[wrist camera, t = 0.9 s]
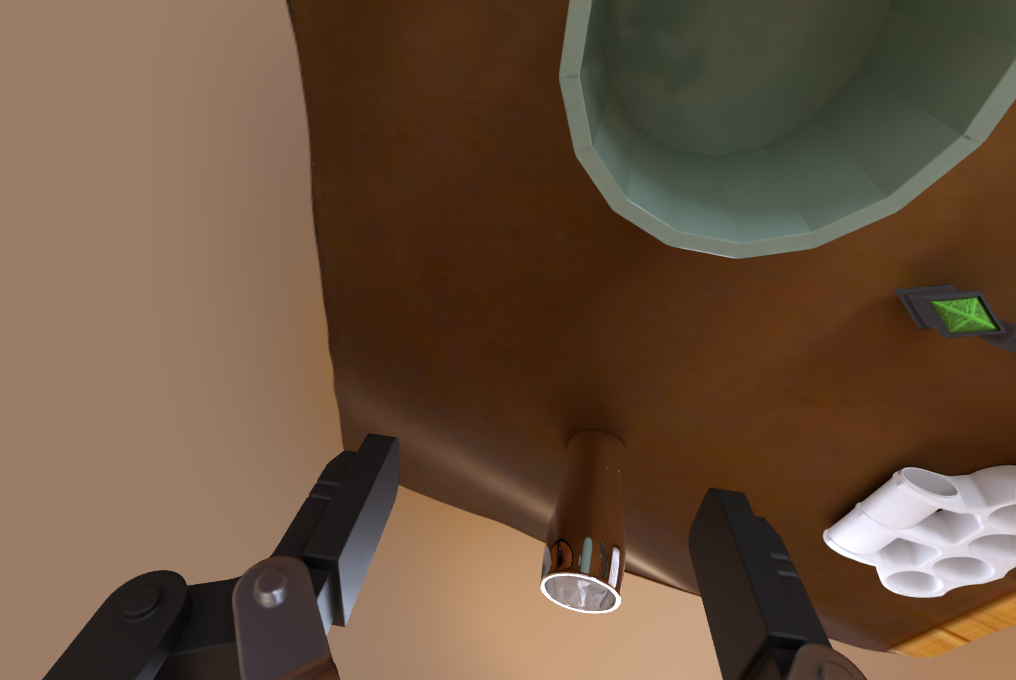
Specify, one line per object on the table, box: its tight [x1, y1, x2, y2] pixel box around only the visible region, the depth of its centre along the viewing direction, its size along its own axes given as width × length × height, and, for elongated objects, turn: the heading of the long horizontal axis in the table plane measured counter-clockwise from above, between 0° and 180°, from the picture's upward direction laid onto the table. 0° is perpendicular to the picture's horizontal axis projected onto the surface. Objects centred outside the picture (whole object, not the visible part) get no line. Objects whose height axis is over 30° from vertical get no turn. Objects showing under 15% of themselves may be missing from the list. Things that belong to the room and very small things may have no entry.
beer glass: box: [540, 430, 626, 613], centre depth 44 cm, size 7×7×15 cm
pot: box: [559, 0, 1016, 259], centre depth 21 cm, size 15×15×12 cm
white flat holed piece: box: [823, 465, 1016, 597], centre depth 44 cm, size 3×18×15 cm
